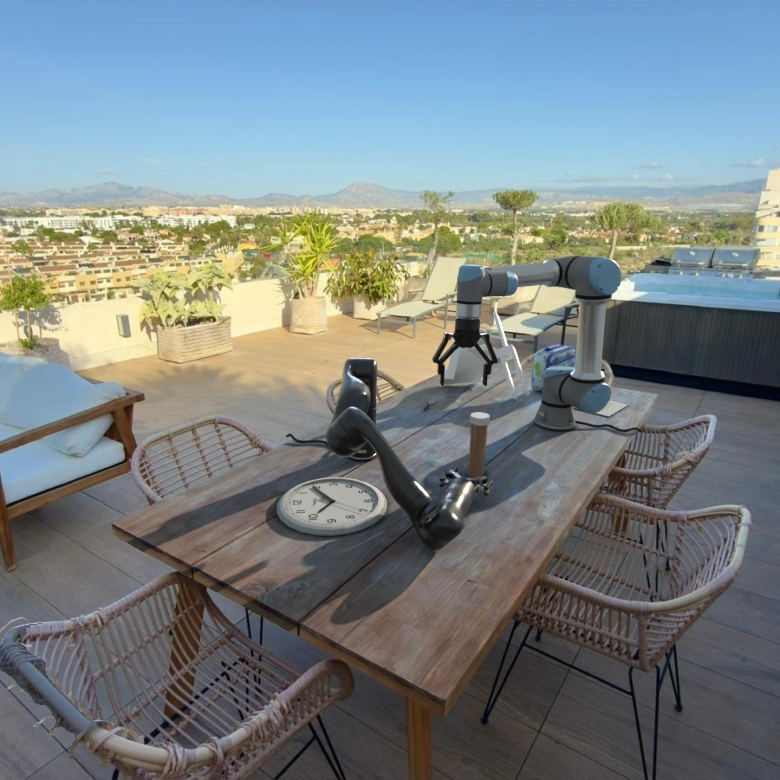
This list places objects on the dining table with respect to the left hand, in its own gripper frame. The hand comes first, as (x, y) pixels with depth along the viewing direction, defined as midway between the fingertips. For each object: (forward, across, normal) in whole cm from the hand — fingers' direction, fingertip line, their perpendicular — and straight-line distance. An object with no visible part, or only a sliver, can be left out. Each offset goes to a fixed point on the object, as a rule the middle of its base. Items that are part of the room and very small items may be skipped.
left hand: (471, 471), depth 151 cm
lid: (+9, 0, +14) cm, 17 cm away
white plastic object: (+95, -16, -6) cm, 96 cm away
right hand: (+18, -8, +20) cm, 28 cm away
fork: (+66, -32, -6) cm, 74 cm away
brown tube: (+9, 0, -6) cm, 11 cm away
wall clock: (-24, -33, -6) cm, 41 cm away
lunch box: (+114, +14, -6) cm, 115 cm away
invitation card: (+95, +37, -6) cm, 102 cm away
